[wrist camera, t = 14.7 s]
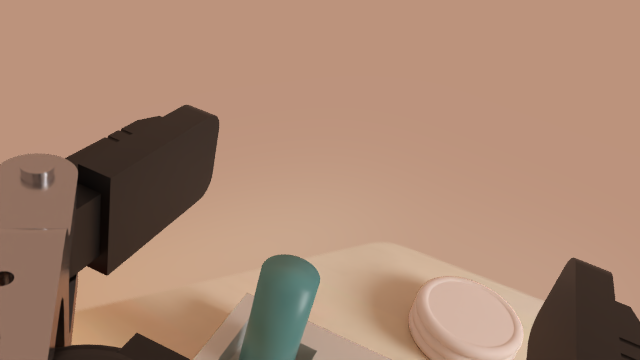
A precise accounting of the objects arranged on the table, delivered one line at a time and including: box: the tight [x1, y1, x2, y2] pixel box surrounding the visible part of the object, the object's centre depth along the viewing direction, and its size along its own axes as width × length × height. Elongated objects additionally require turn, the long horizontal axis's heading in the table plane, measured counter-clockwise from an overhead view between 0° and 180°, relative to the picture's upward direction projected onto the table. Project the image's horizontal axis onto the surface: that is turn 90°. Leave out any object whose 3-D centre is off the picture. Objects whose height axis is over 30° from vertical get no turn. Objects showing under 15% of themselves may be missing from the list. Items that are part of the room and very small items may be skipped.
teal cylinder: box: [239, 255, 320, 360], centre depth 41 cm, size 4×4×11 cm
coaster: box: [409, 276, 523, 360], centre depth 53 cm, size 10×10×4 cm
